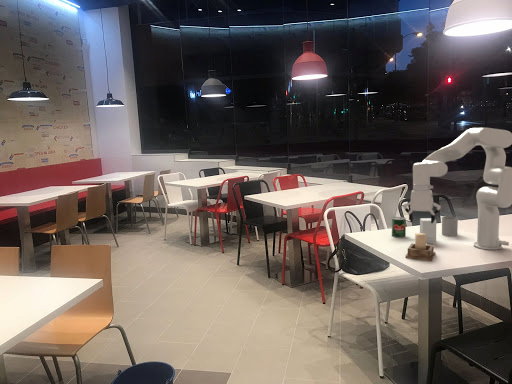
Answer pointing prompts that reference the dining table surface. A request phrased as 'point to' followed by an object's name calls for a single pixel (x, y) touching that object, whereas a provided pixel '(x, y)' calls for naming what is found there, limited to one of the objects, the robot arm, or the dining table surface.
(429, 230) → the supplement box
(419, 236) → the tan rectangular block
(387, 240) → the dining table surface
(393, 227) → the canned tomato
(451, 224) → the cup
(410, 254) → the brown wooden box
